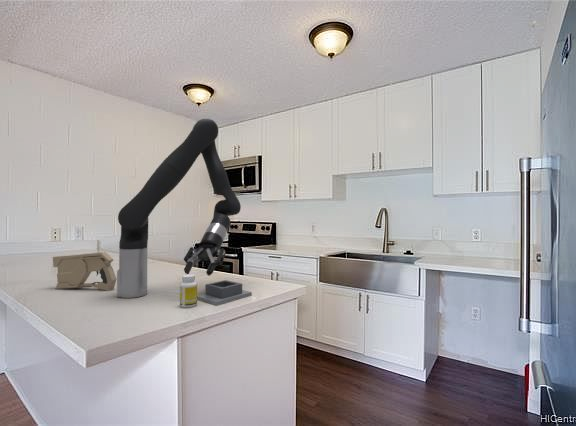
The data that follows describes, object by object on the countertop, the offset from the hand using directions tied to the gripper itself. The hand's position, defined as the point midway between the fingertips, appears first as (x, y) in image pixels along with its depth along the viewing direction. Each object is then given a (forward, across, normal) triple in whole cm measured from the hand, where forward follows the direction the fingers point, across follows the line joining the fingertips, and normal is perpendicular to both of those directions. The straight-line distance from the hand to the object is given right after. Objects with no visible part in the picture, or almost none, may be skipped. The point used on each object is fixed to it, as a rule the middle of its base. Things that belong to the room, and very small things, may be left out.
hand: (197, 273), depth 103 cm
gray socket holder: (+2, +6, +12) cm, 14 cm away
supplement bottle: (+10, 0, +3) cm, 11 cm away
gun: (+5, -52, +8) cm, 53 cm away
